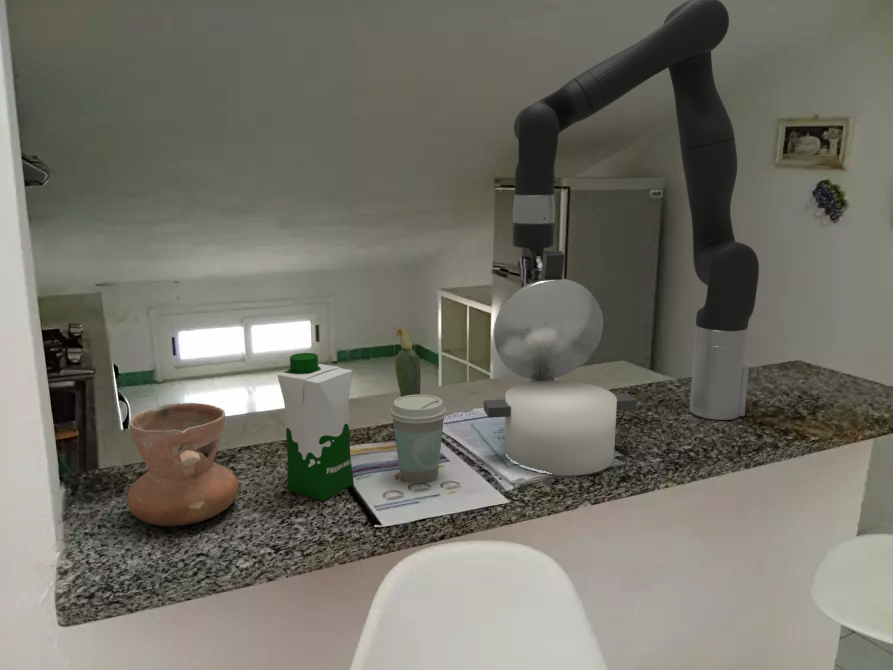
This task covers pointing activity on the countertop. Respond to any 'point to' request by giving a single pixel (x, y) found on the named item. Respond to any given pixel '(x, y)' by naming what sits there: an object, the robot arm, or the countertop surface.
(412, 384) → the vegetable
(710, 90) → the robot arm
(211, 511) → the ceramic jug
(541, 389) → the cooker pot
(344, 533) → the countertop surface
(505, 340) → the cooker lid
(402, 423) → the coffee cup
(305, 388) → the milk carton
